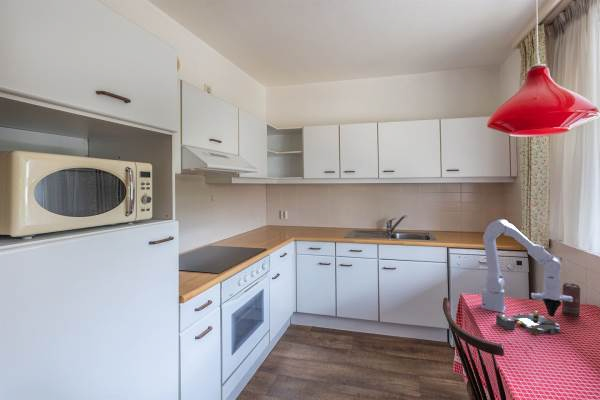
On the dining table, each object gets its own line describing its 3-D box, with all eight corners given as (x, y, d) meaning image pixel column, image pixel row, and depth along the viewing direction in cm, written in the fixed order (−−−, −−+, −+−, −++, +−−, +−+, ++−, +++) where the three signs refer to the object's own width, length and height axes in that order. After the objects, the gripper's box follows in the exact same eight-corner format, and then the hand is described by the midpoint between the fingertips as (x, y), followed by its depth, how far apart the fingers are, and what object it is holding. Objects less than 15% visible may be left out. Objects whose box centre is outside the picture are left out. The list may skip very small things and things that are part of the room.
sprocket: (510, 326, 131) (511, 317, 130) (514, 313, 143) (514, 305, 143) (560, 338, 120) (560, 328, 120) (559, 323, 133) (559, 314, 132)
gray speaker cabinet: (514, 329, 128) (514, 320, 128) (505, 330, 128) (505, 320, 128) (505, 323, 134) (505, 314, 134) (496, 323, 134) (496, 314, 134)
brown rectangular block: (531, 333, 125) (531, 327, 125) (531, 332, 126) (531, 326, 125) (537, 335, 123) (537, 329, 123) (537, 334, 124) (537, 328, 124)
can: (571, 311, 144) (572, 282, 144) (583, 317, 138) (584, 287, 137) (558, 311, 145) (559, 282, 144) (568, 317, 139) (569, 287, 138)
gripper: (536, 287, 132) (535, 317, 132) (577, 290, 127) (576, 321, 128) (529, 282, 138) (528, 311, 139) (568, 284, 134) (567, 314, 135)
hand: (550, 315), depth 134 cm, fingers closed
